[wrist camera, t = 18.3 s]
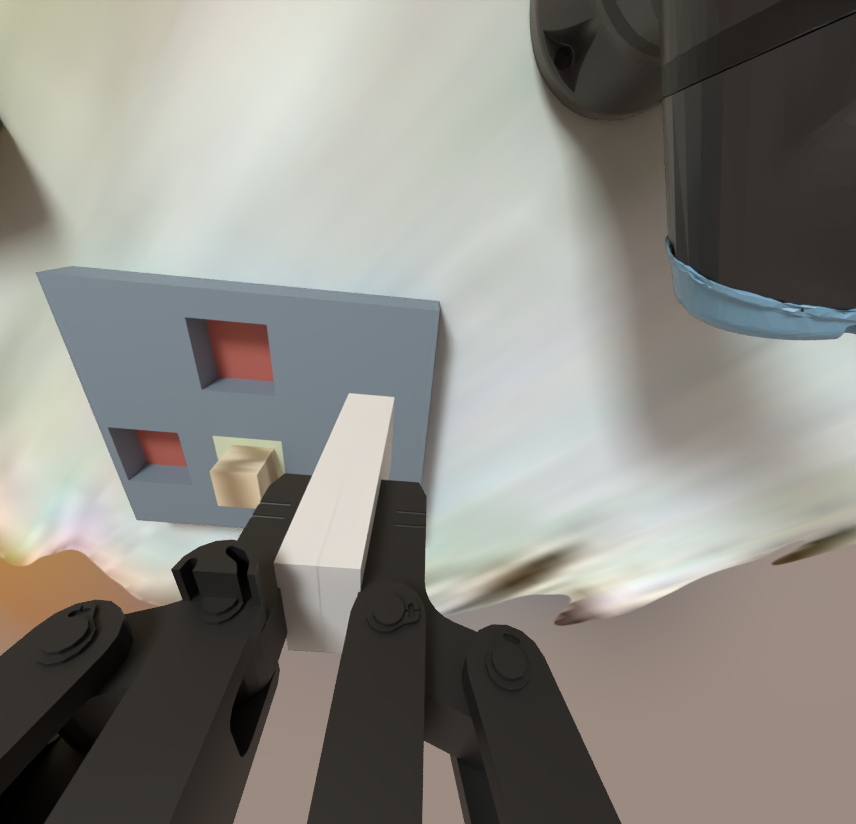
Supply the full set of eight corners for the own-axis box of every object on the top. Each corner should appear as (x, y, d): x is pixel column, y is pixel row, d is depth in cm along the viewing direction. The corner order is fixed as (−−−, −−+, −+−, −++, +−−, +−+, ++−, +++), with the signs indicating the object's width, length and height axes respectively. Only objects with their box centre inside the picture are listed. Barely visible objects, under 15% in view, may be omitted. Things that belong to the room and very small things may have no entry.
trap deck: (439, 301, 39) (439, 310, 36) (416, 519, 55) (415, 540, 52) (72, 266, 38) (35, 272, 35) (156, 499, 54) (136, 520, 50)
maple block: (274, 448, 44) (256, 475, 40) (278, 480, 47) (262, 509, 42) (231, 444, 44) (209, 471, 40) (238, 477, 46) (218, 505, 42)
